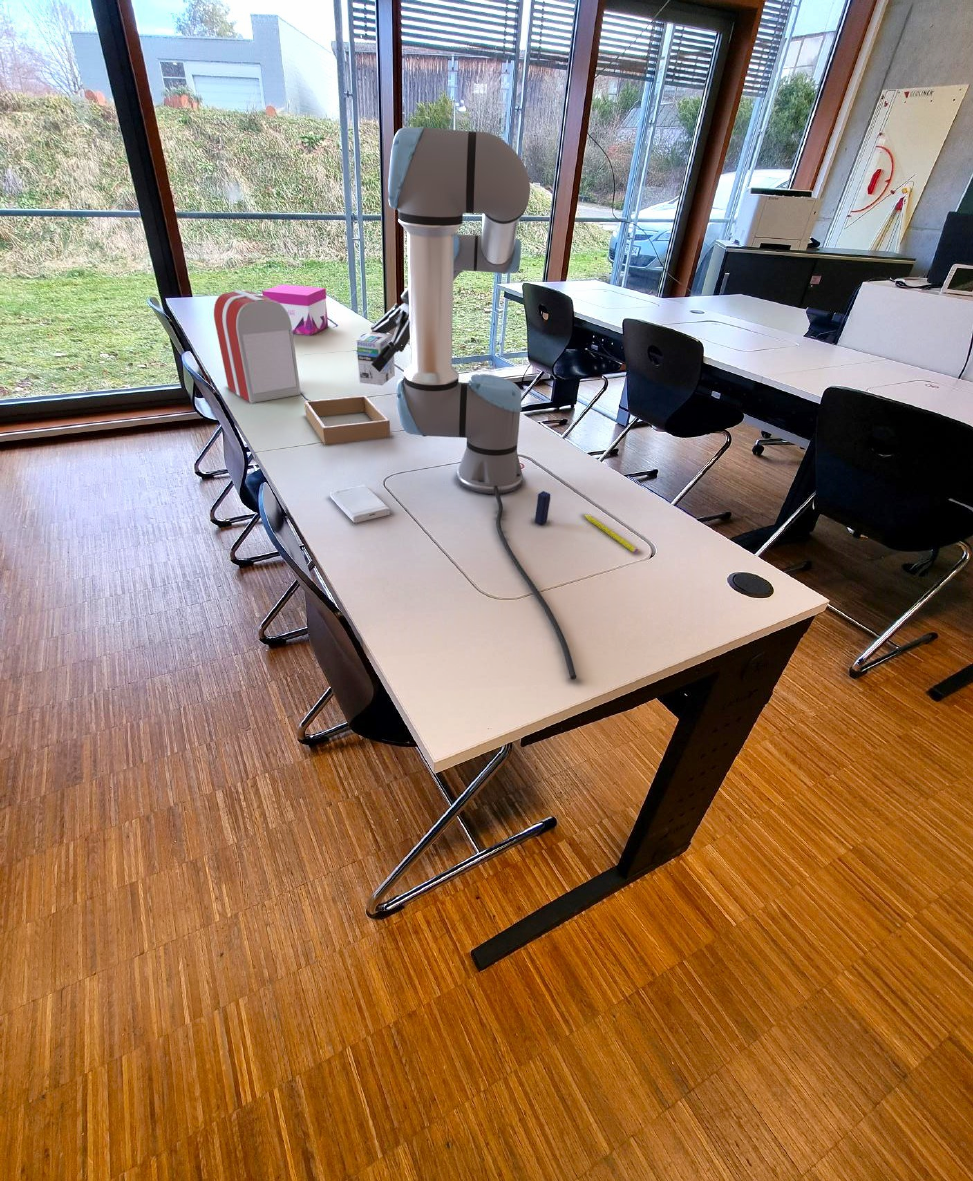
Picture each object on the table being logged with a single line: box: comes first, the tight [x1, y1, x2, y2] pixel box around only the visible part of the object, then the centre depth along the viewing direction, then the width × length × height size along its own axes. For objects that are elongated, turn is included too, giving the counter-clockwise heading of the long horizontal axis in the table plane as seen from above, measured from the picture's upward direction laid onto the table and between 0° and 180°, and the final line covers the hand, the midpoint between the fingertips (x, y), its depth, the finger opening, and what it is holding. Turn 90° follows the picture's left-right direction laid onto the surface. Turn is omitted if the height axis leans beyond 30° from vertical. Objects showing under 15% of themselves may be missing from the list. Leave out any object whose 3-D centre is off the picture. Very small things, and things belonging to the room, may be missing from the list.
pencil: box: [584, 514, 639, 554], centre depth 120 cm, size 16×1×1 cm, turn 30°
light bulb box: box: [355, 331, 396, 386], centre depth 154 cm, size 11×7×11 cm, turn 169°
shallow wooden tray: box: [303, 395, 391, 446], centre depth 159 cm, size 22×18×4 cm
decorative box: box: [261, 283, 329, 336], centre depth 245 cm, size 19×19×15 cm
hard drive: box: [329, 484, 391, 524], centre depth 123 cm, size 2×8×12 cm
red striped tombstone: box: [213, 289, 302, 404], centre depth 173 cm, size 17×18×27 cm
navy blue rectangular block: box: [534, 490, 551, 526], centre depth 120 cm, size 2×2×7 cm
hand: (367, 361), depth 153 cm, fingers closed on light bulb box, 12 cm apart
